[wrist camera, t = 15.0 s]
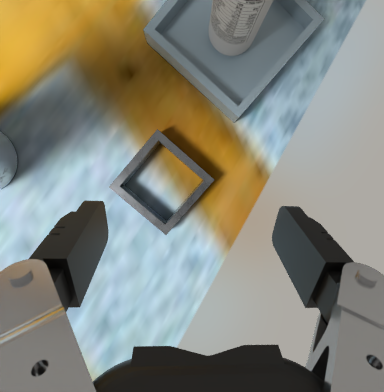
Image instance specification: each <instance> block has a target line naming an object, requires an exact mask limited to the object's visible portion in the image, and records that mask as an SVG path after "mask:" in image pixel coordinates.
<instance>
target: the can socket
mask: <svg viewBox="0 0 384 392" xmlns="http://www.w3.org/2000/svg"><path fill="white" fill-rule="evenodd" d="M160 143H161V144H162V145H164V146H165V147H166V148H167V149H168V150H169V151H170V152H172V153H173V154H174V155H175V156H176V157H177V158H178V159H179V160H181V161H182V162H183V163H184V164H185V165H186V166H187V167H189V168H190V169H191V170H192V171H193V172H194V173H195V174H197V175H198V176H199V177H200V178H201V179H202V181H201V183H200V184H199V185H198V186H197V187H196V188H195V189H194V191H193V192H192V193H191V194H190V195H189V196H188V197H187V199H186V200H185V201H184V202H183V203H182V204H181V205H180V207H179V208H178V209H177V210H176V211H175V212H174V213H173V215H172V216H171V217H170V218H169V219H168V220H167V221H166V220H165V219H164V218H162V217H161V216H160V215H159V214H158V213H157V212H155V211H154V210H153V209H152V208H151V207H149V206H148V205H147V204H146V203H145V202H144V201H142V200H141V199H140V198H139V197H138V196H136V195H135V194H134V193H133V192H132V191H131V190H129V189H128V188H127V187H126V186H125V184H126V183H127V182H128V181H129V179H130V178H131V177H132V176H133V175H134V174H135V172H136V171H137V170H138V169H139V168H140V166H141V165H142V164H143V163H144V162H145V161H146V159H147V158H148V157H149V156H150V155H151V153H152V152H153V151H154V150H155V149H156V148H157V146H158V145H159V144H160ZM213 181H214V179H213V178H212V177H211V176H210V175H209V174H207V173H206V172H205V171H204V170H203V169H202V168H201V167H200V166H198V165H197V164H196V163H195V162H194V161H193V160H192V159H190V158H189V157H188V156H187V155H186V154H185V153H184V152H183V151H181V150H180V149H179V148H178V147H177V146H176V145H175V144H173V143H172V142H171V141H170V140H169V139H168V138H167V137H166V136H164V135H163V134H162V133H161V132H160V131H159V130H158V129H157V131H156V132H155V133H154V134H153V135H152V136H151V138H150V139H149V140H148V141H147V142H146V144H145V145H144V146H143V147H142V148H141V149H140V151H139V152H138V153H137V154H136V155H135V157H134V158H133V159H132V160H131V161H130V163H129V164H128V165H127V166H126V167H125V168H124V170H123V171H122V172H121V173H120V174H119V176H118V177H117V178H116V179H115V180H114V181H113V183H112V184H111V185H110V186H109V188H111V189H112V190H113V191H114V192H115V193H117V194H118V195H119V196H120V197H121V198H122V199H124V200H125V201H126V202H127V203H128V204H130V205H131V206H132V207H133V208H134V209H136V210H137V211H138V212H139V213H140V214H142V215H143V216H144V217H145V218H146V219H147V220H149V221H150V222H151V223H152V224H153V225H155V226H156V227H157V228H158V229H159V230H161V231H162V232H163V233H164V234H165V235H166V234H167V233H168V232H169V231H170V230H171V229H172V228H173V227H174V225H175V224H176V223H177V222H178V221H179V220H180V219H181V217H182V216H183V215H184V214H185V213H186V212H187V211H188V209H189V208H190V207H191V206H192V205H193V204H194V203H195V201H196V200H197V199H198V198H199V197H200V196H201V195H202V193H203V192H204V191H205V190H206V189H207V188H208V187H209V185H210V184H211V183H212V182H213Z"/></svg>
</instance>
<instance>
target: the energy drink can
mask: <svg viewBox="0 0 384 392" xmlns="http://www.w3.org/2000/svg"><path fill="white" fill-rule="evenodd" d="M272 2H273V0H213V2H212V8H211V15H210V22H209V38H210V41H211V43H212V45H213V46H214V48H215V49H216V50H217V51H219V52H220V53H222V54H224V55H228V56H235V55H239V54H242V53H243V52H245V51H246V50H247V49H248V48H249V47H250V46H251V44H252V42H253V40H254V38H255V36H256V34H257V32H258V30H259V28H260V26H261V24H262V22H263V20H264V18H265V16H266V14H267V12H268V10H269V8H270V6H271V4H272Z"/></svg>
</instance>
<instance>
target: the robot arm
mask: <svg viewBox="0 0 384 392" xmlns="http://www.w3.org/2000/svg"><path fill="white" fill-rule="evenodd" d="M16 169H17V154H16V151H15V148H14V146H13V145H12V143H11V141H10V140H9V139H8V138H7V137H6V136H5V135H4V134H3V133H1V132H0V189H2V188H3V187H5V186H6V185H7V184H8V183H9V182H10V181H11V180H12V178H13V177H14V175H15V172H16ZM107 240H108V225H107V218H106V211H105V205H104V202H103V201H84V202H83V203H82V204H81V206H80V207H79V208H78V210H77V211H76V212H70V213H68V214H67V215H65V216H64V217H62V218H61V219H60V220H59V221H58V222H57V224H56V225H55V226H54V228H53V229H52V230H51V231H50V233H49V235H47V236H46V238H45V239H44V240H43V241H42V243H41V244H40V245H39V246H38V248H37V249H36V250H35V252H34V253H33V254H32V255H31V257H30V258H29V259H28V260H23V261H20V262H17V263H14V264H12V265H10V266H8V267H7V268H5V269H4V270H2V271H1V272H0V392H384V275H383V274H381V273H380V272H379V271H377V270H375V269H373V268H372V267H369V266H367V265H364V264H361V263H355V262H354V261H353V260H352V259H351V258H350V257H349V256H348V255H347V253H346V252H345V251H344V250H343V249H342V248H341V247H340V246H339V244H338V243H337V242H336V241H335V240H333V238H332V237H331V235H329V234H328V232H327V231H326V230H325V229H324V228H323V227H322V225H321V224H319V223H318V222H316V221H315V220H313V219H312V218H309V217H308V216H307V215H306V214H305V213H304V211H303V210H302V209H301V208H300V207H294V206H282V207H281V208H280V209H279V212H278V216H277V219H276V223H275V226H274V230H273V235H272V241H273V246H274V248H275V250H276V252H277V254H278V255H279V257H280V259H281V261H282V263H283V265H284V267H285V269H286V271H287V273H288V275H289V277H290V279H291V281H292V282H293V284H294V286H295V288H296V290H297V292H298V294H299V296H300V298H301V300H302V302H303V304H304V306H305V308H319V310H320V314H319V316H318V319H317V323H316V327H315V331H314V336H313V340H312V344H311V349H310V353H309V357H308V361H307V363H306V366H305V367H303V366H301V365H299V364H298V363H296V362H293V361H291V360H288V359H286V358H282V355H281V352H280V349H279V346H278V345H243V346H240V347H237V348H233V349H230V350H227V351H224V352H221V353H218V354H215V355H211V356H205V355H201V354H197V353H194V352H190V351H186V350H182V349H179V348H175V347H171V346H146V347H134V348H133V354H132V359H130V360H127V361H124V362H122V363H120V364H118V365H116V366H114V367H112V368H110V369H109V370H107V371H106V372H104V373H103V374H102V375H100V376H99V377H98V378H96V379H95V380H94V381H93V382H92V379H91V377H90V374H89V372H88V369H87V366H86V364H85V361H84V359H83V356H82V353H81V351H80V348H79V346H78V343H77V340H76V338H75V335H74V333H73V330H72V327H71V325H70V322H69V320H68V317H67V314H66V311H67V309H68V307H80V306H81V303H82V301H83V299H84V296H85V294H86V292H87V289H88V287H89V284H90V282H91V280H92V277H93V275H94V272H95V270H96V268H97V265H98V263H99V261H100V258H101V256H102V253H103V251H104V249H105V246H106V244H107Z"/></svg>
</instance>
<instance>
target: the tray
mask: <svg viewBox="0 0 384 392" xmlns="http://www.w3.org/2000/svg"><path fill="white" fill-rule="evenodd" d="M212 2H213V0H167V1H166V2H165V3H164V5H163V6H162V7H161V8H160V10H159V11H158V12H157V13H156V15H155V16H154V17H153V18H152V19H151V21H150V22H149V23H148V24H147V26H146V27H145V28H144V29H143V31H144V34H145V37H146V40H147V43H148V44H149V45H150V46H151V47H152V48H153V49H154V50H155V51H156V52H158V53H159V54H160V55H161V56H162V57H163V58H164V59H165V60H166V61H167V62H168V63H170V64H171V65H172V66H173V67H174V68H175V69H176V70H177V71H178V72H179V73H180V74H182V75H183V76H184V77H185V78H186V79H187V80H188V81H189V82H190V83H191V84H192V85H194V86H195V87H196V88H197V89H198V90H199V91H200V92H201V93H202V94H203V95H204V96H206V97H207V98H208V99H209V100H210V101H211V102H212V103H213V104H214V105H215V106H216V107H218V108H219V109H220V110H221V111H222V112H223V113H224V114H225V115H226V116H227V117H228V118H230V119H231V120H232V121H233V122H235V121H236V120H237V119H238V118H239V117H240V116H241V115H242V113H243V112H244V111H245V110H246V109H247V108H248V106H249V105H250V104H251V103H252V102H253V101H254V100H255V98H256V97H257V96H258V95H259V94H260V93H261V91H262V90H263V89H264V88H265V87H266V86H267V85H268V83H269V82H270V81H271V80H272V79H273V78H274V76H275V75H276V74H277V73H278V72H279V71H280V70H281V68H282V67H283V66H284V65H285V64H286V63H287V62H288V60H289V59H290V58H291V57H292V56H293V55H294V53H295V52H296V51H297V50H298V49H299V48H300V47H301V45H302V44H303V43H304V42H305V41H306V40H307V38H308V37H309V36H310V35H311V34H312V33H313V32H314V30H315V29H316V28H317V27H318V26H319V25H320V23H321V22H322V21H323V20H324V18H323V17H322V16H321V15H320V14H319V13H318V12H317V11H316V10H315V9H314V8H313V7H312V6H311V5H310V4H309V3H308V2H307V1H306V0H273V2H272V4H271V6H270V8H269V10H268V12H267V14H266V16H265V18H264V20H263V22H262V24H261V26H260V28H259V30H258V32H257V34H256V36H255V38H254V40H253V42H252V44H251V46H250V47H249V48H248V49H247V50H246V51H245V52H243V53H242V54H239V55H235V56H228V55H224V54H222V53H220V52H219V51H217V50H216V49H215V48H214V46H213V45H212V43H211V41H210V38H209V22H210V15H211V8H212Z"/></svg>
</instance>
